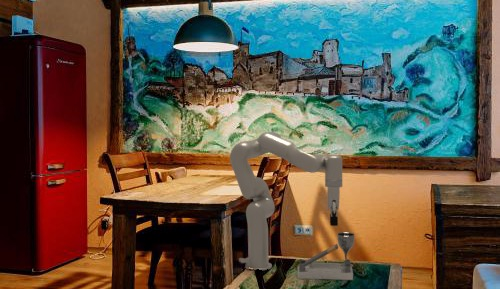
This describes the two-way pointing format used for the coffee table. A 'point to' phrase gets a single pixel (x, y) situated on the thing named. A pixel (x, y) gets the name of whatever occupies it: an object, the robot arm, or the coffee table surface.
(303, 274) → the grey flat base
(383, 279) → the coffee table surface
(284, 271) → the coffee table surface
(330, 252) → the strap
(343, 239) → the wine glass
